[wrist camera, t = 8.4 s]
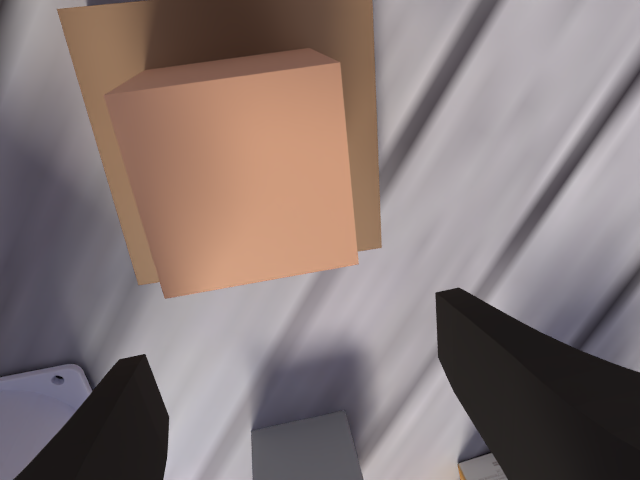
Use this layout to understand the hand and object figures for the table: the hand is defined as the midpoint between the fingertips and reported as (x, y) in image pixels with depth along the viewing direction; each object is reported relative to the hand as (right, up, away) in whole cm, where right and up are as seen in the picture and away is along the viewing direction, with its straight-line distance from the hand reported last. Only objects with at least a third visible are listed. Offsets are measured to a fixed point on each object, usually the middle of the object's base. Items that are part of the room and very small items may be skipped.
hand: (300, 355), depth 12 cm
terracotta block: (-2, +6, +4) cm, 7 cm away
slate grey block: (0, -9, +15) cm, 17 cm away
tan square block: (-3, +7, +7) cm, 11 cm away
